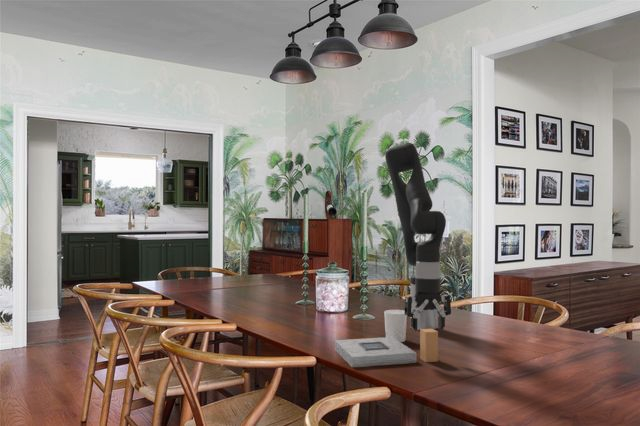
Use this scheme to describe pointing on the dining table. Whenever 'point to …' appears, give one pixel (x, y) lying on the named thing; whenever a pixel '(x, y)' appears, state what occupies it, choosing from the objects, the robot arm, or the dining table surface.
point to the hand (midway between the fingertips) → (427, 329)
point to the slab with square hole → (374, 352)
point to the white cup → (395, 324)
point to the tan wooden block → (429, 345)
